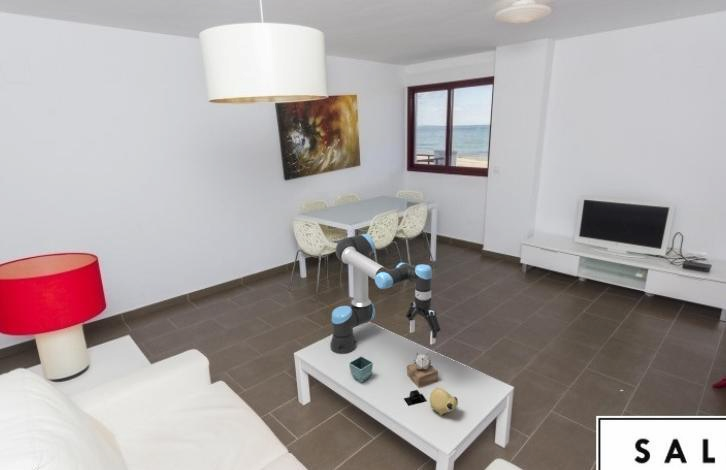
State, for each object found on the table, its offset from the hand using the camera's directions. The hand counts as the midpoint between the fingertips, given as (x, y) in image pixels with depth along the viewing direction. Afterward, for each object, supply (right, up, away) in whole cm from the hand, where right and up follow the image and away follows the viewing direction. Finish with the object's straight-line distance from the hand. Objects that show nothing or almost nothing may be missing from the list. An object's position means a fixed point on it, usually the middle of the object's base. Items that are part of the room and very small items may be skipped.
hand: (422, 337), depth 184 cm
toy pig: (+7, -28, -17) cm, 34 cm away
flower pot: (-29, -23, +8) cm, 38 cm away
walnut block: (+1, -22, +6) cm, 23 cm away
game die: (+1, -17, +4) cm, 17 cm away
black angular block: (-5, -27, -9) cm, 29 cm away
